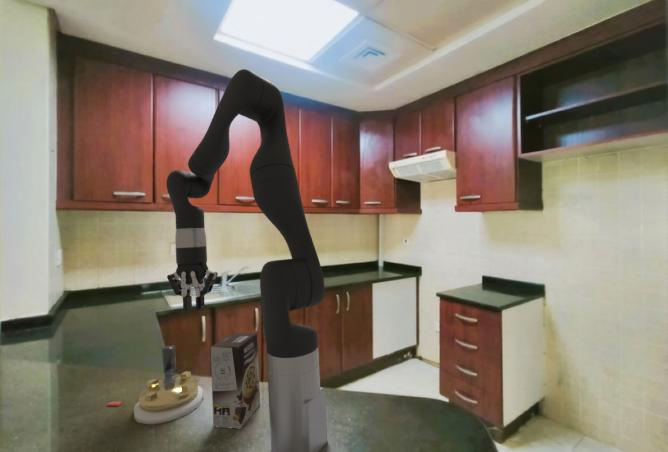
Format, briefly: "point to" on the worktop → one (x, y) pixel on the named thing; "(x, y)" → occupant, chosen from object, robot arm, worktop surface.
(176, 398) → the gold oval piece
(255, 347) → the coffee box
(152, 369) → the worktop surface
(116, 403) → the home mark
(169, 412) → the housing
